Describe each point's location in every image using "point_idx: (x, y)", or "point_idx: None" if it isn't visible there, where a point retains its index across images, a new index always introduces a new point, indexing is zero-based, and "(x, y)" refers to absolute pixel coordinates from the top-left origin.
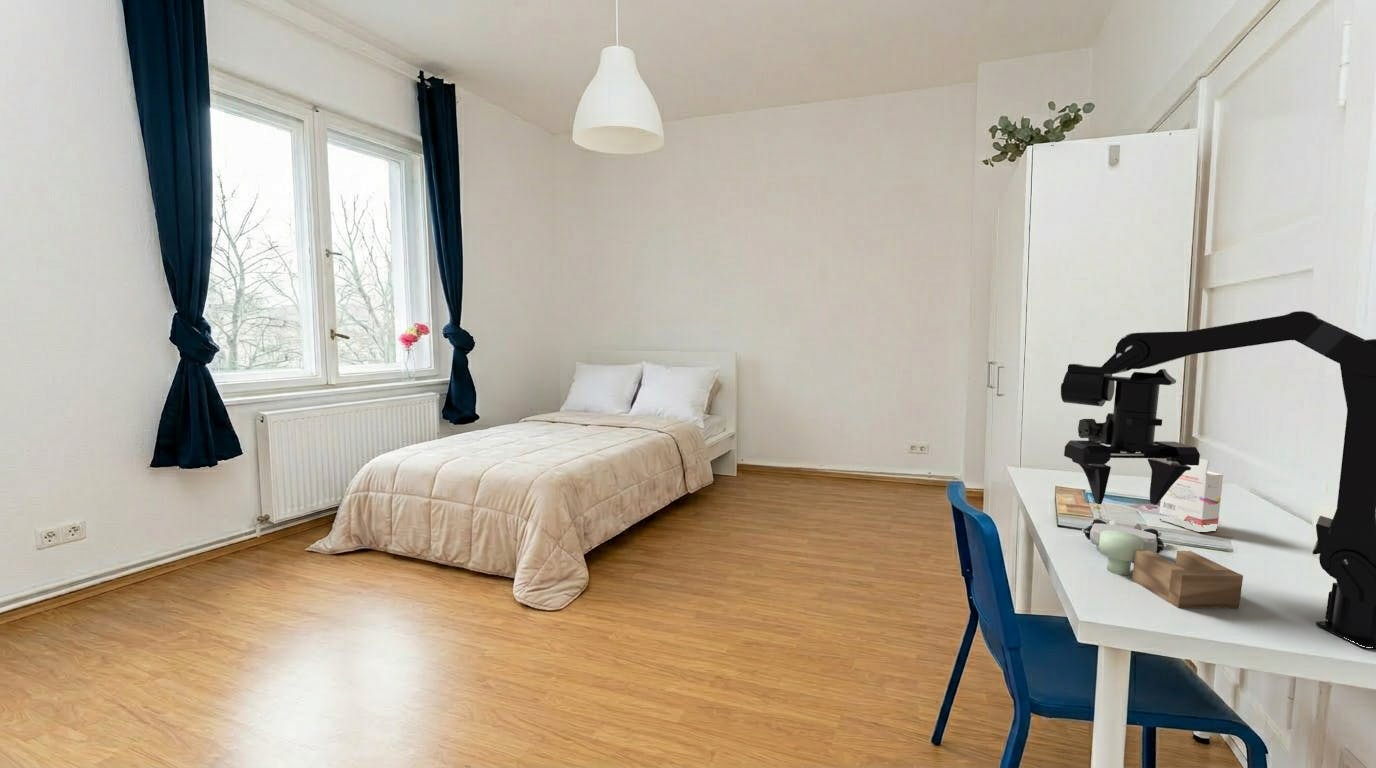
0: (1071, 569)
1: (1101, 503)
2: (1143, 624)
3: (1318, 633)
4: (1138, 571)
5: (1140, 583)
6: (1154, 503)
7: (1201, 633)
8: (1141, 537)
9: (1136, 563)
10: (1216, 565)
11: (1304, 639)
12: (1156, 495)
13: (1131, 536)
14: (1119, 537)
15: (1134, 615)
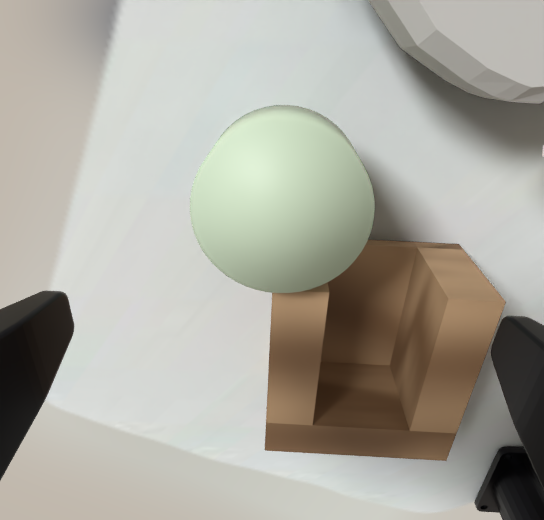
0: (117, 142)
1: (69, 340)
2: (133, 424)
3: (464, 463)
4: None
5: None
6: (494, 358)
7: (226, 452)
8: (509, 70)
9: None
10: (448, 407)
11: (407, 475)
12: (525, 423)
13: (333, 216)
14: (261, 226)
15: (138, 396)
